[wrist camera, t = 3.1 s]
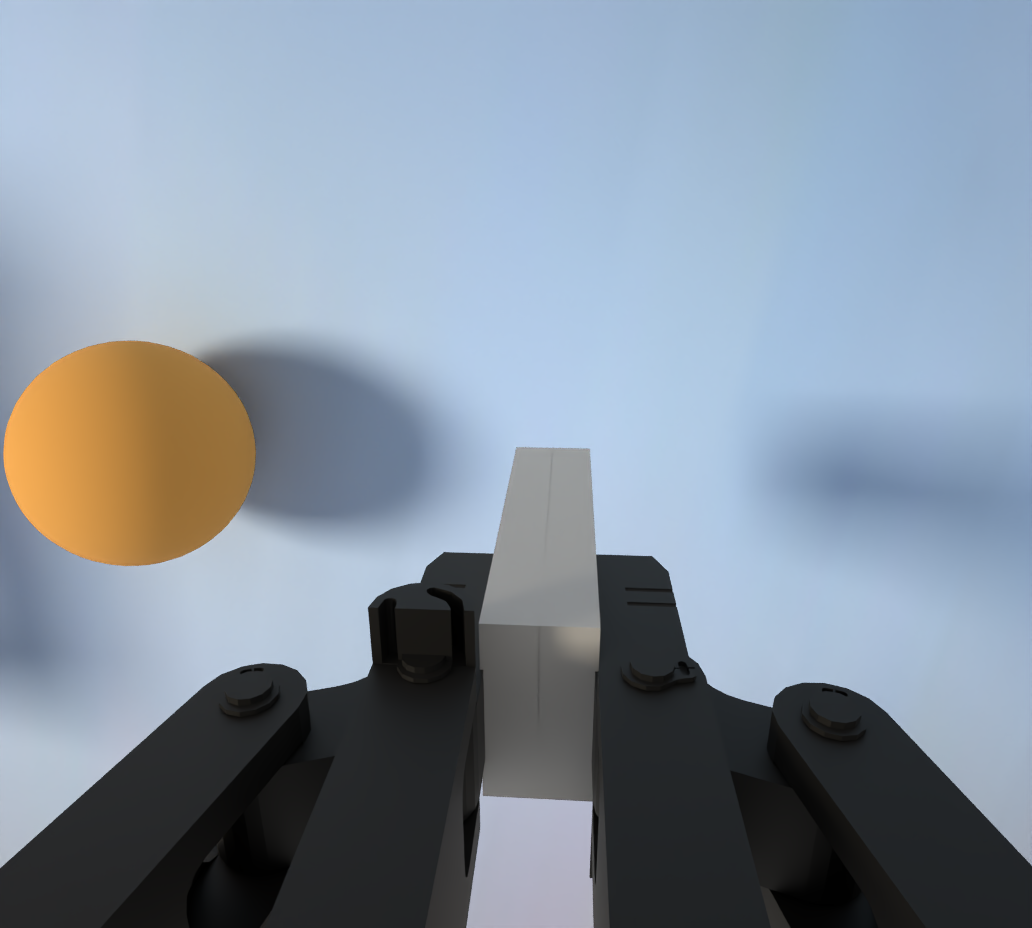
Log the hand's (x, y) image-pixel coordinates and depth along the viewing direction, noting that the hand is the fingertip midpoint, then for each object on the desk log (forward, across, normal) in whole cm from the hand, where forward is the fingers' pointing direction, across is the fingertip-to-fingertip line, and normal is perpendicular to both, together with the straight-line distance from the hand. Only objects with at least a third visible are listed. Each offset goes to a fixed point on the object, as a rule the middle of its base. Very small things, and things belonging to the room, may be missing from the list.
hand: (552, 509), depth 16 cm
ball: (+2, -10, 0) cm, 11 cm away
